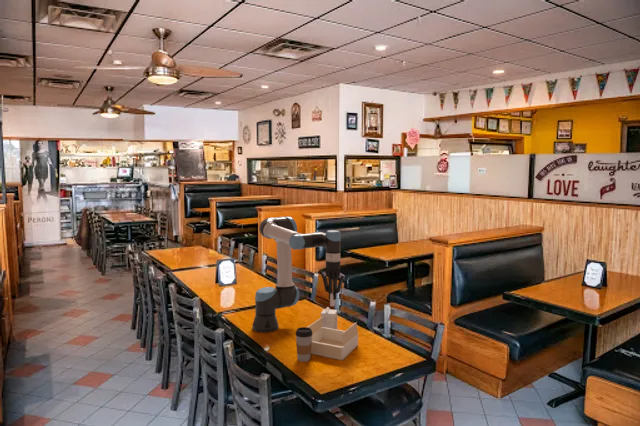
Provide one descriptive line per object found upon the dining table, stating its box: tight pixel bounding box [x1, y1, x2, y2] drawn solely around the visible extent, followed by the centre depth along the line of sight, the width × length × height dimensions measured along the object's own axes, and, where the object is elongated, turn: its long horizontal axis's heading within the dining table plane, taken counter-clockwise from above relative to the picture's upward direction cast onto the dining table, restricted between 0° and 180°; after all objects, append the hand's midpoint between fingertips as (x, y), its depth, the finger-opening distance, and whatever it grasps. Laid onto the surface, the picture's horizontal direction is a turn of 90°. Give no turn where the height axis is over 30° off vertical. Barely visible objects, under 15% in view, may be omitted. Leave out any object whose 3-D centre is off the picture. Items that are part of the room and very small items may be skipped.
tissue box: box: [320, 306, 338, 330], centre depth 262 cm, size 9×8×13 cm
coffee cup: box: [295, 326, 312, 363], centre depth 223 cm, size 8×8×15 cm
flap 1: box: [307, 316, 323, 334], centre depth 240 cm, size 6×19×1 cm
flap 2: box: [342, 321, 359, 346], centre depth 232 cm, size 6×19×1 cm
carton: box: [311, 327, 359, 361], centre depth 237 cm, size 21×22×6 cm
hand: (332, 305), depth 234 cm, fingers closed
